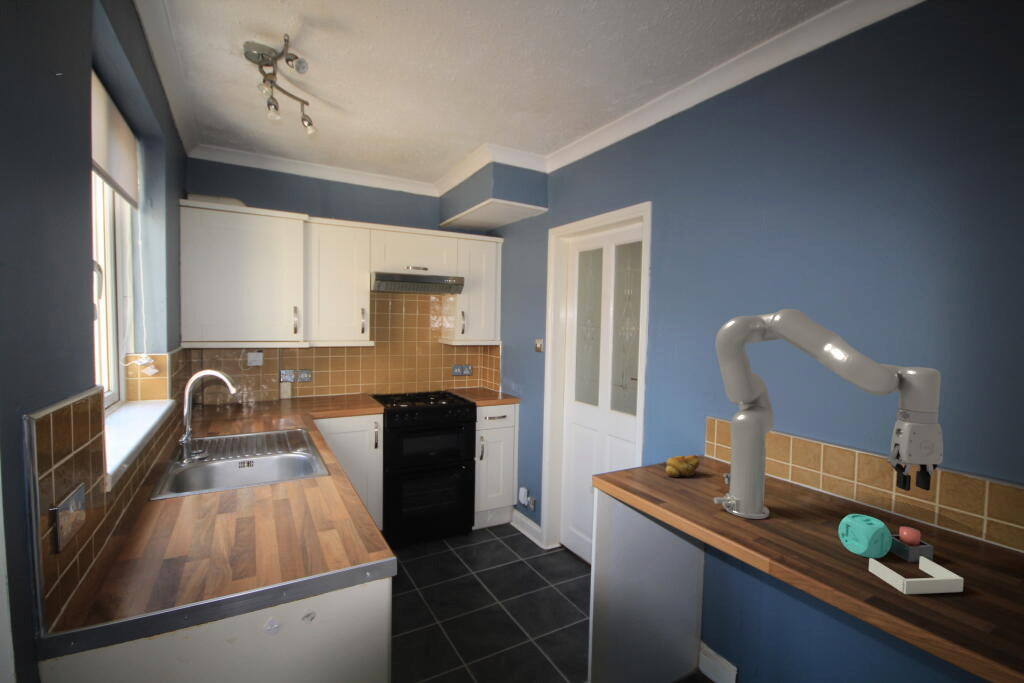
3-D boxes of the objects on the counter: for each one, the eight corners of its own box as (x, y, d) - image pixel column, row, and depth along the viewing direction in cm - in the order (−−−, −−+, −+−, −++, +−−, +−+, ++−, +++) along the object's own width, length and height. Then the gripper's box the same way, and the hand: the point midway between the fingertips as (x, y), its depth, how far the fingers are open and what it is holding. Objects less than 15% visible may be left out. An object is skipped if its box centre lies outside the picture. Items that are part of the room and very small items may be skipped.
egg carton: (737, 489, 161) (737, 478, 161) (720, 482, 168) (721, 471, 168) (760, 486, 165) (760, 474, 164) (743, 478, 172) (743, 468, 171)
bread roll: (673, 480, 168) (673, 459, 168) (656, 472, 178) (657, 451, 177) (702, 477, 173) (702, 456, 172) (684, 468, 182) (685, 448, 181)
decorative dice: (867, 560, 115) (869, 529, 114) (836, 544, 122) (838, 515, 122) (891, 556, 117) (893, 525, 116) (860, 541, 125) (861, 512, 124)
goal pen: (905, 594, 101) (906, 580, 101) (868, 570, 110) (869, 558, 110) (962, 591, 102) (963, 578, 102) (921, 568, 111) (922, 556, 111)
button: (909, 547, 115) (910, 534, 115) (894, 539, 119) (895, 526, 119) (924, 547, 115) (925, 533, 115) (909, 539, 119) (909, 526, 119)
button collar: (908, 562, 114) (909, 547, 114) (885, 549, 120) (886, 534, 120) (932, 561, 115) (933, 546, 114) (908, 548, 121) (909, 534, 121)
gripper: (899, 420, 111) (895, 495, 112) (964, 420, 112) (959, 493, 113) (872, 413, 118) (868, 484, 119) (933, 413, 120) (929, 482, 121)
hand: (912, 488), depth 116 cm, fingers open, 4 cm apart
